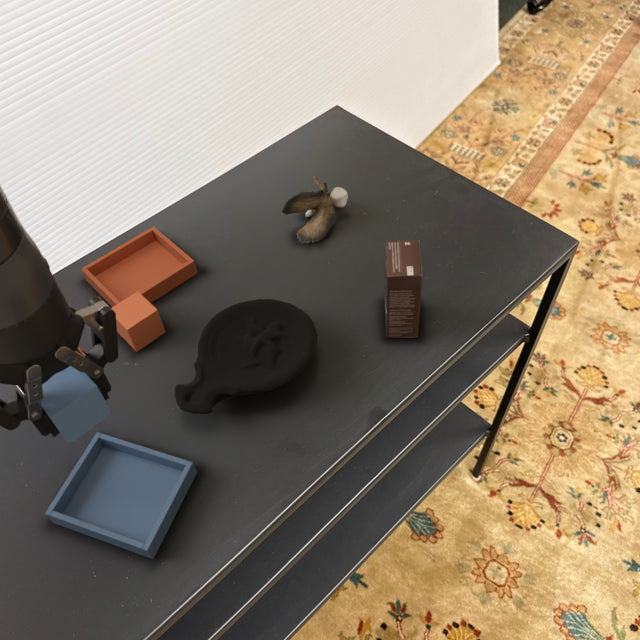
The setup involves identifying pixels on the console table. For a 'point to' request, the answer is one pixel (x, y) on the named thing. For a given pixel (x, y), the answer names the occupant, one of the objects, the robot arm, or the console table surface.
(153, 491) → the blue tray
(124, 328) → the terracotta block
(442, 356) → the console table surface
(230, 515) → the console table surface
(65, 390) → the blue block
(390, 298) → the box
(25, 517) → the console table surface
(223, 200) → the console table surface
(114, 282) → the terracotta tray
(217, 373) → the oil lamp
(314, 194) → the eagle figurine
